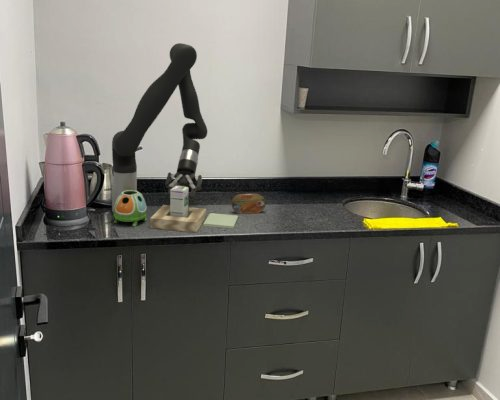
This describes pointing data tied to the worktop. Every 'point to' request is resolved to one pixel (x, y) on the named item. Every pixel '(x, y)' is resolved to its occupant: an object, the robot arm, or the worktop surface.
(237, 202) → the tin
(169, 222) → the socket block
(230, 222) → the mat
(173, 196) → the syrup box
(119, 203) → the turtle holder
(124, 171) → the robot arm
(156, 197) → the worktop surface
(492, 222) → the worktop surface
